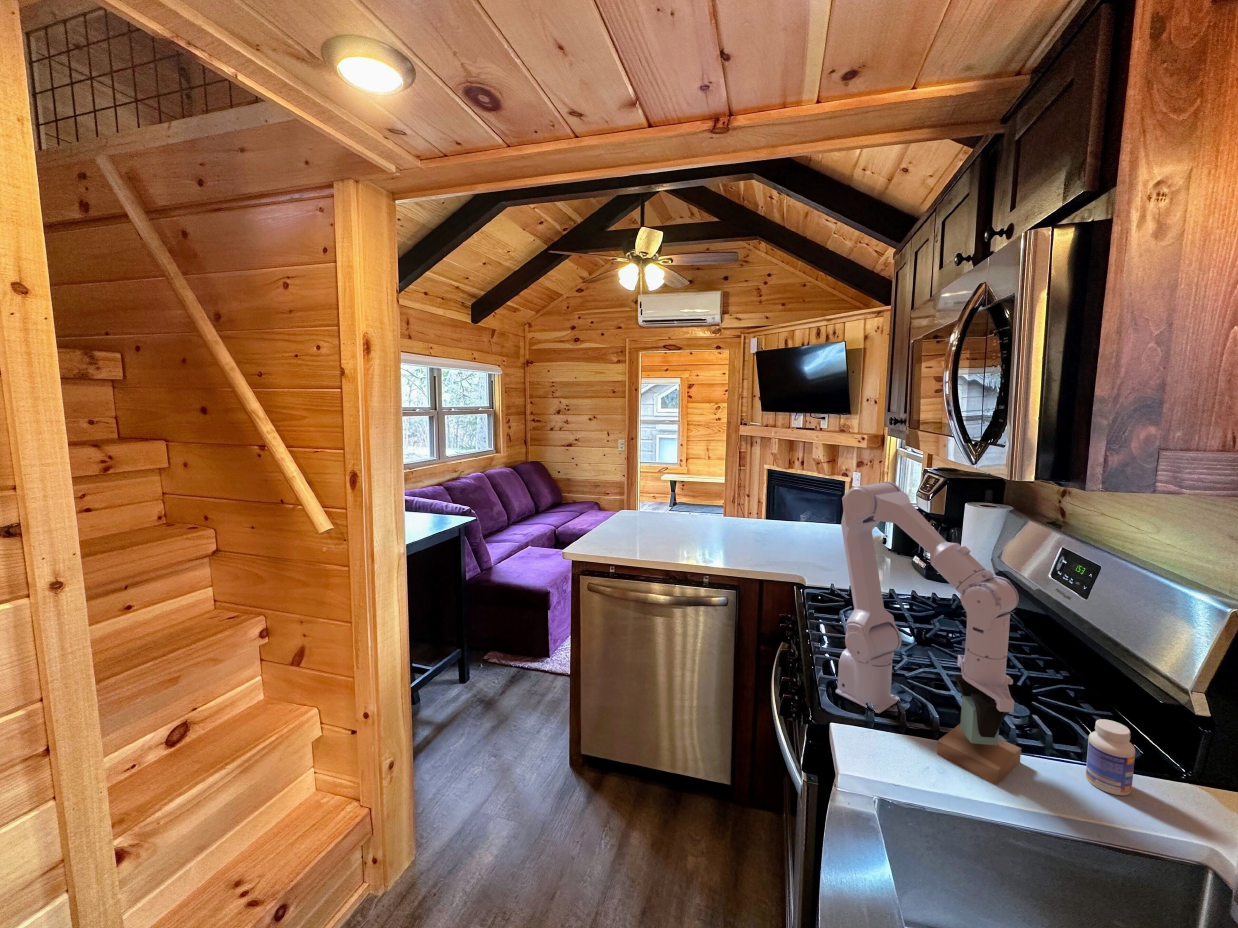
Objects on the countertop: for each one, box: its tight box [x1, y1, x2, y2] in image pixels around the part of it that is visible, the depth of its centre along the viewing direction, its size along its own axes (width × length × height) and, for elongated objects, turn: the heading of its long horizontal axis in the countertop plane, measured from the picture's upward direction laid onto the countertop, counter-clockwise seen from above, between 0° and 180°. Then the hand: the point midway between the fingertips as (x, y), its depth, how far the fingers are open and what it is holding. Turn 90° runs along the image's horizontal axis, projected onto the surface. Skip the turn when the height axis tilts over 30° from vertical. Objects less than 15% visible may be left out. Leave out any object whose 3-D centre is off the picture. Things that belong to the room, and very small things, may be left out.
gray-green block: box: [959, 695, 1000, 745], centre depth 90 cm, size 4×4×6 cm
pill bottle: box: [1085, 718, 1136, 796], centre depth 84 cm, size 5×5×10 cm
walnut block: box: [936, 723, 1022, 786], centre depth 90 cm, size 9×9×3 cm
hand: (980, 727), depth 90 cm, fingers closed on gray-green block, 4 cm apart
